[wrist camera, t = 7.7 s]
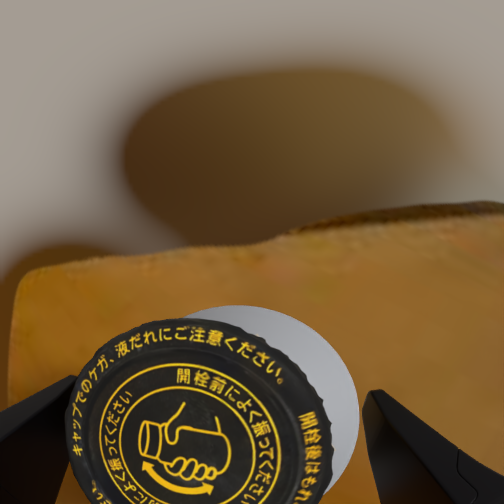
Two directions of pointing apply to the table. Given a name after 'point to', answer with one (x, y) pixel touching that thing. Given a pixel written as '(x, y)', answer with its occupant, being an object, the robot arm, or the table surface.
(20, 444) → the robot arm
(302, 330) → the round white stand
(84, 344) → the table surface
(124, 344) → the condiment
